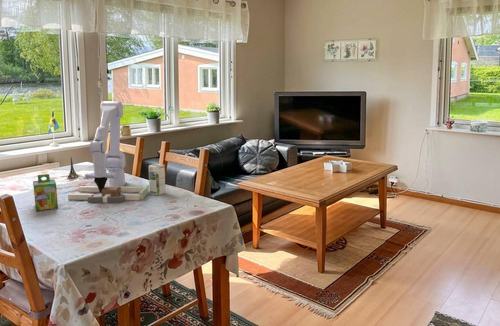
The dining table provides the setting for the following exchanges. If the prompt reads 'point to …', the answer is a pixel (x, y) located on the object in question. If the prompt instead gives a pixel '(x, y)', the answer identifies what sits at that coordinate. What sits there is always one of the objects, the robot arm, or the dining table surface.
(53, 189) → the chalk box
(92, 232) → the dining table surface
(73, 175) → the eiffel tower figurine
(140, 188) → the trap lane
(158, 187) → the syrup box
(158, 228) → the dining table surface
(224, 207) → the dining table surface
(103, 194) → the walnut block
